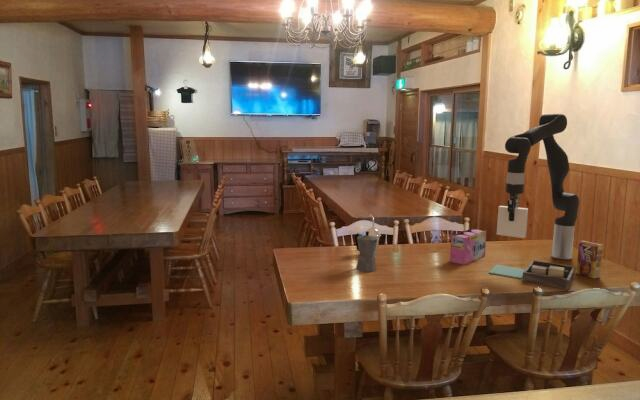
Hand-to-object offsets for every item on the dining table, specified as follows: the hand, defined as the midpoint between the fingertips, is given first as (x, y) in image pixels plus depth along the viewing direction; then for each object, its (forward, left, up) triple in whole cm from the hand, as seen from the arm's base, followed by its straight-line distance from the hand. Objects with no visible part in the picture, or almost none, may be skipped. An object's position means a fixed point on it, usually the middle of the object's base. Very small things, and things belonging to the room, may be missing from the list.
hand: (512, 220), depth 220 cm
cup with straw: (+8, -66, -25) cm, 71 cm away
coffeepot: (+33, -57, -25) cm, 70 cm away
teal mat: (0, 0, -25) cm, 25 cm away
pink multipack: (-11, -22, -25) cm, 35 cm away
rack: (0, +17, -25) cm, 30 cm away
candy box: (-16, +31, -25) cm, 43 cm away
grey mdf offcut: (+5, +14, -25) cm, 29 cm away
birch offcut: (+5, +20, -25) cm, 32 cm away
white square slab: (0, 0, -7) cm, 7 cm away
